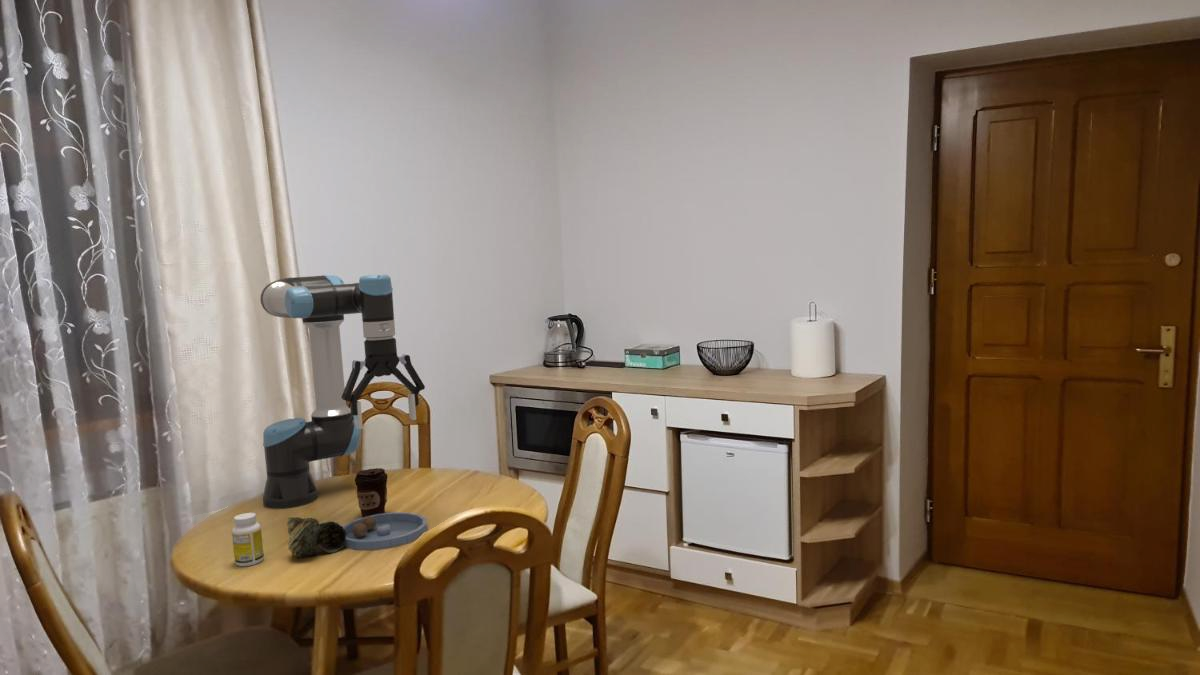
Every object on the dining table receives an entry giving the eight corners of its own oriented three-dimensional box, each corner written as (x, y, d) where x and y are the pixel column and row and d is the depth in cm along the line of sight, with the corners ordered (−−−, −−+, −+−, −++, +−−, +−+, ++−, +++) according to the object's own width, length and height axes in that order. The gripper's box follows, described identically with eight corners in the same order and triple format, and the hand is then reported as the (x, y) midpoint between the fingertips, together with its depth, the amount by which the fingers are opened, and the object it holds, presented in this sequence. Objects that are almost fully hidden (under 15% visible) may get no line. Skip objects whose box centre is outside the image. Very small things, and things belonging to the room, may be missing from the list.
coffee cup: (380, 524, 207) (376, 475, 205) (351, 524, 208) (347, 475, 207) (395, 513, 215) (392, 466, 214) (367, 513, 217) (363, 466, 215)
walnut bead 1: (351, 536, 196) (350, 523, 196) (365, 533, 198) (364, 519, 198) (355, 540, 193) (354, 526, 193) (370, 537, 195) (368, 523, 195)
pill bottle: (258, 554, 189) (254, 509, 188) (268, 561, 185) (263, 515, 184) (231, 562, 185) (226, 516, 184) (240, 569, 181) (235, 522, 179)
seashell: (326, 566, 179) (322, 523, 178) (281, 565, 182) (277, 523, 180) (350, 549, 190) (346, 508, 189) (306, 548, 192) (303, 508, 191)
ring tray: (328, 536, 200) (327, 525, 199) (408, 517, 211) (407, 506, 211) (355, 560, 182) (354, 548, 182) (440, 537, 194) (440, 526, 194)
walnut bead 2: (360, 530, 200) (359, 516, 200) (373, 527, 202) (372, 513, 202) (364, 533, 198) (363, 520, 197) (378, 530, 200) (377, 517, 199)
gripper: (332, 344, 184) (340, 434, 186) (433, 333, 198) (440, 417, 200) (323, 342, 190) (331, 429, 193) (422, 332, 204) (428, 413, 207)
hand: (386, 423), depth 196 cm, fingers open, 13 cm apart
